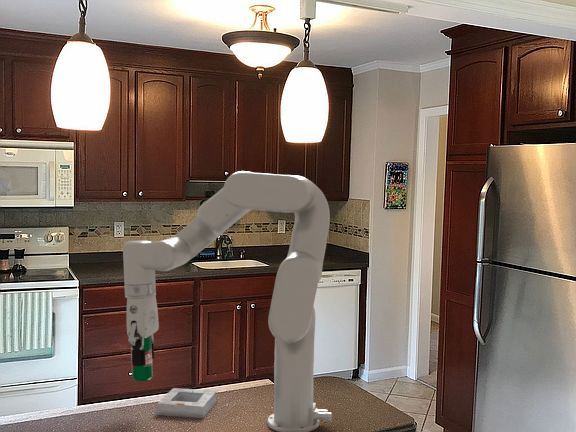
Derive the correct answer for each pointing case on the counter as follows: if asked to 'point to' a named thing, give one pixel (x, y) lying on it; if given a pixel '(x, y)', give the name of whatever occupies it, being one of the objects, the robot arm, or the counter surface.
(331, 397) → the counter surface
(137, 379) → the soda can
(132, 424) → the counter surface
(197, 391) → the plate
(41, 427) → the counter surface
